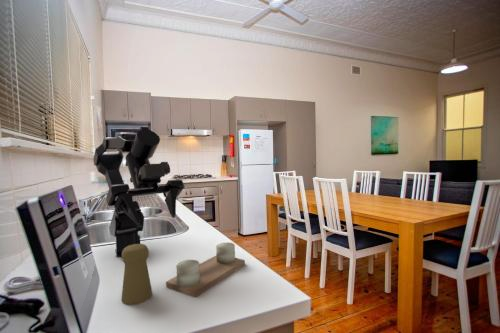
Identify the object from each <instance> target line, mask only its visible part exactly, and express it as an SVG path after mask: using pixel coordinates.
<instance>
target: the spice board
mask: <svg viewBox="0 0 500 333" xmlns="http://www.w3.org/2000/svg"><path fill="white" fill-rule="evenodd" d="M235 246H236V245H235V243H233V242H226V241H225V242H220V243H217V244H216V245H215V252H216V254H215V255H214V256H213V257H210V258H209V259H207V260H205V261H203V262H201V263H200V262H199V261H198V260H195V259H185V260H182V261H179V262H177V264H176V265H175V266H176V267H175V269H176V276H175V277H173V278H170V279H169V280H167V281H165V286H166V288H168V289H171V290H174V291H176V292H180V293H183V294H185V295H188V296H191V297H193V298H196V297H199V296H200V295H201V294H202V293H204V292H206V291H207V290H209V289H210V288H212V287H213V286H214V285H216V284H218V283H219V282H221V281H222V280H224V279H226V278H227V277H228V276H230V275H231V274H232V273H234V272H236V271H237V270H239V269H240V268H242V267H243V266H245V265H246V261H245V260H246V259H242V258H238V257H236V250H235V248H236V247H235ZM244 264H245V265H244ZM241 266H242V267H241ZM238 268H239V269H238ZM235 270H236V271H235Z"/></svg>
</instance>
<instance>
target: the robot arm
mask: <svg viewBox="0 0 500 333" xmlns="http://www.w3.org/2000/svg"><path fill="white" fill-rule="evenodd" d="M160 141H161V138H160V136H159V135H158V133H156V132H154V131H152V130H151V129H149V127H148V126H140V128H139V129H138V131H137V132H119V133H118V134H116V137H109V136H108V137H104V138H103V140H102V142H101V144H100V145H99V146H97V147H96V148H95V150H94V154H93V165H94V166H95V167H96V170H97V172H98V173H100V174H102V175H103V176H104V177H105V180H106V183H107V185H108V186H107V187H108V191H107V194H106V197H105V198H106V204H107V206H109V207H114V211H113V214H112V218H111V220H110V224H109V235H111V236H113V237H114V238H115V256H116V257H117V258H118V257H122V251H123V249H124V248H125V247H127V246H129V245H133V244H141V236H140V234H139V232H143V230H144V224H145V216H144V213H143V212H142V210H141V208H140V205H139V202H138V201H137V200H134V201H133V197H138V196H139V197H140V196H141V197H142V196H149V195H151V196H152V195H159V194H163V196H164V202H165V204H166V207H167V209H168V211H169V213H170V215H171V217H172V218H173V219H174V218H175V217H176V215H177V214H176V212H177V209H176V208H177V205H176V204H177V197H179V196H180V194H181V193H182V192H183V190H184V189H185V184H184V182H183V180H182V179H169V180H167V181H166V183H165V185H159V184H160V183H161V182H162V179H161V178H164V177H165V176H166V175H169V174H170V173H171V168H170V167H171V166H170V164H169V162H168V161H160V163H159V162H158V163H151V162H150V159H152V158H153V156H154V154H155V153H156V150H157V148H158V147H159V144H160ZM107 150H117V151H118V152H117V151H115V152H114V151H113V152H111V151H110V152H109V151H108V152H107ZM124 153H125V154H126V156H125V167H127V168H128V172H129V175H130V178H129V181H130V183H132V186H133V188H130V186H129V184H128V183H124V182H125V181H124V180H123V176H122V175H121V171H120V169H121V166H122V163H123V160H124Z"/></svg>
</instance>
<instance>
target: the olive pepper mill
mask: <svg viewBox="0 0 500 333" xmlns="http://www.w3.org/2000/svg"><path fill="white" fill-rule="evenodd" d="M149 254H150V253H149V248H148V246H147V245H146V244H144V243H140V244H133V245H129V246H127V247H125V248H124V249H123V251H122V256H121V259H122V261H123V263H124V268H123V269H124V270H123V280H122V282H123V283H122V291H121V303H122V304H123V305H130V306H131V305H132V306H133V305H139V304H142V303H145V302H146V301H148V300H150V299H151V297H152V296H153V289H152V284H151V279H150V274H149V269H148V267H149V266H148V262H147V259H148V257H149Z"/></svg>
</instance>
